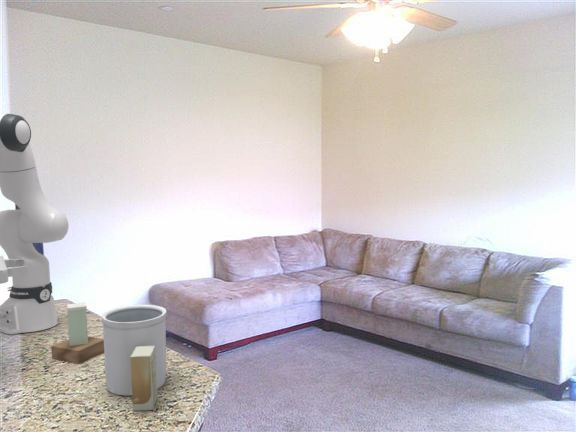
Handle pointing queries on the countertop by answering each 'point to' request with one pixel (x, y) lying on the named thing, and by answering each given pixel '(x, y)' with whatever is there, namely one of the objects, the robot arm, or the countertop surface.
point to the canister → (77, 324)
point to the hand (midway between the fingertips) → (25, 265)
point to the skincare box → (143, 378)
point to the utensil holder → (132, 343)
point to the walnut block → (78, 350)
